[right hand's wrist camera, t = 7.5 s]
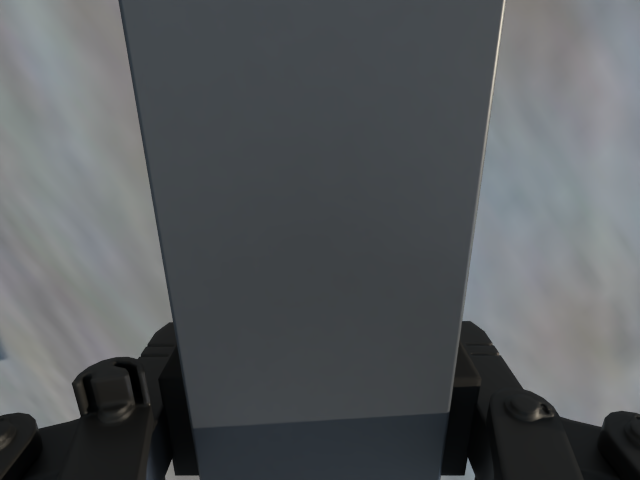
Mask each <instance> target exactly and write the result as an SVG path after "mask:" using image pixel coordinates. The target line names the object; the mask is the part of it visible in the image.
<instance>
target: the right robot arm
mask: <svg viewBox="0 0 640 480" xmlns="http://www.w3.org/2000/svg"><path fill="white" fill-rule="evenodd" d="M72 386H73V389H74V393H75V397H76V400H77V404H78V408H79V411H80V415H81V417H80V418H79V419H76V420H73V421H70V422H66V423H61V424H57V425H53V426H49V427H44V428H40V429H38V426H37V423H36V420H35V419H34V418H33V417H32V416H30V415H29V414H24V413H13V414H6V415H2V416H0V480H165V475H166V472H167V470H168V467H169V465H170V462H171V460H173V466H174V471H175V475H199V471H198V465H197V459H196V454H195V448H194V442H193V436H192V430H191V424H190V418H189V412H188V406H187V401H186V395H185V389H184V383H183V377H182V371H181V365H180V359H179V353H178V347H177V342H176V336H175V330H174V324H173V322H169V323H168V324H167V325H165V326H164V327H163V328H161V329H160V330H158V331H157V332H156V333H155V334H154V336H153V337H152V339H151V340H150V342H149V343H148V346H147V347H146V348H145V349H144V351H143V352H142V354H141V357H139V358H138V359H134V358H130V357H115V358H111V359H107V360H103V361H100V362H98V363H96V364H94V365H92V366H90V367H88V368H87V369H85V370H84V371H83V372H81V373H80V374H79V375H78V376H77V377H76V379H75V380H74V381H73V383H72ZM467 458H468V459H469V461H470V464H471V466H472V469H473V471H474V474H475V480H640V414H637V413H633V412H626V411H618V412H612V413H610V414H609V415H608V416H607V417H605V419H604V422H603V425H602V427H599V426H594V425H590V424H586V423H581V422H577V421H573V420H569V419H566V418H563V417H560V416H559V415H558V413H557V412H556V410H555V408H554V407H553V406H552V405H551V404H550V403H549V402H547V401H546V400H545V399H544V398H542V397H540V396H538V395H537V394H535V393H533V392H531V391H527V390H524V389H523V388H522V386H521V385H520V383H519V382H518V380H517V379H516V377H515V376H514V375H513V373H512V372H511V370H510V369H509V367H508V366H507V364H506V363H505V361H504V360H503V358H502V357H501V356H499V352H498V351H497V349H496V348H495V346H493V345H492V342H491V340H490V339H489V337H488V336H487V335H486V333H485V332H484V331H483V330H482V329H480V328H479V327H478V326H476V325H475V324H474V323H472V322H471V321H462V325H461V332H460V339H459V347H458V354H457V361H456V368H455V376H454V383H453V390H452V397H451V405H450V412H449V419H448V426H447V433H446V441H445V448H444V455H443V462H442V470H441V475H465V470H466V464H467Z"/></svg>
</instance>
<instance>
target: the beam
mask: <svg viewBox="0 0 640 480" xmlns="http://www.w3.org/2000/svg"><path fill="white" fill-rule="evenodd" d="M119 6H120V12H121V17H122V23H123V29H124V35H125V41H126V47H127V53H128V59H129V65H130V70H131V76H132V82H133V88H134V94H135V100H136V106H137V112H138V118H139V124H140V129H141V135H142V141H143V147H144V153H145V159H146V165H147V171H148V177H149V182H150V188H151V194H152V200H153V206H154V212H155V218H156V224H157V230H158V236H159V241H160V247H161V253H162V259H163V265H164V271H165V277H166V283H167V289H168V294H169V300H170V306H171V312H172V318H173V324H174V330H175V336H176V342H177V347H178V353H179V359H180V365H181V371H182V377H183V383H184V389H185V395H186V401H187V406H188V412H189V418H190V424H191V430H192V436H193V442H194V448H195V454H196V459H197V465H198V471H199V477H200V480H440V477H441V470H442V462H443V455H444V448H445V441H446V433H447V426H448V419H449V412H450V405H451V397H452V390H453V383H454V376H455V368H456V361H457V354H458V347H459V339H460V332H461V325H462V318H463V310H464V303H465V296H466V289H467V281H468V274H469V267H470V260H471V252H472V245H473V238H474V231H475V223H476V216H477V209H478V202H479V194H480V187H481V180H482V173H483V165H484V158H485V151H486V144H487V136H488V129H489V122H490V115H491V108H492V100H493V93H494V86H495V79H496V71H497V64H498V57H499V50H500V42H501V35H502V28H503V21H504V13H505V6H506V0H119Z"/></svg>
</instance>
